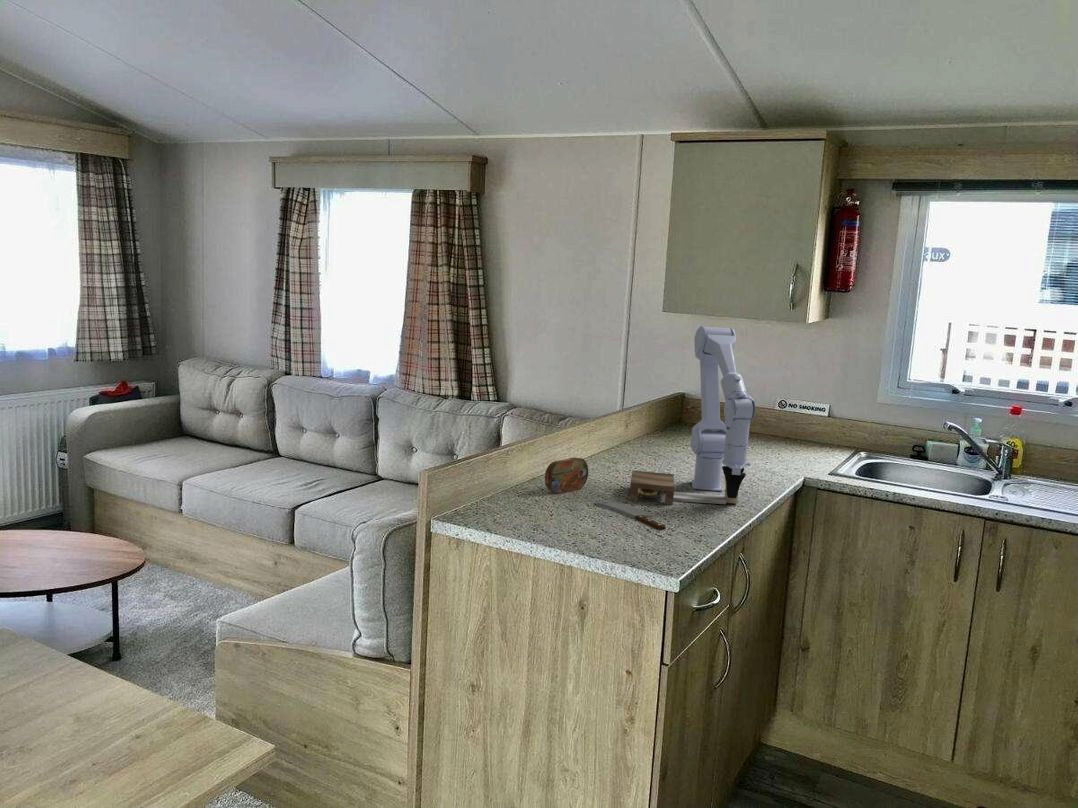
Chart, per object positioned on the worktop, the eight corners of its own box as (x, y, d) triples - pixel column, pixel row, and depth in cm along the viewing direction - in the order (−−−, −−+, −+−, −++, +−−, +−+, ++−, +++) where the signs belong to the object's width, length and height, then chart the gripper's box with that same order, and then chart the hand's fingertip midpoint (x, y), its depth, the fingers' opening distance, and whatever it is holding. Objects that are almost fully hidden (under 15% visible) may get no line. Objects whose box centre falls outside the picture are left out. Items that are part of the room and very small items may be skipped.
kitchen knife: (686, 524, 208) (653, 527, 203) (686, 529, 208) (652, 531, 203) (624, 499, 228) (592, 500, 223) (624, 503, 228) (592, 504, 223)
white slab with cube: (672, 494, 236) (673, 472, 235) (735, 498, 234) (737, 476, 233) (672, 500, 230) (673, 478, 229) (737, 505, 228) (739, 482, 227)
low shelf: (631, 487, 241) (632, 470, 241) (672, 491, 240) (673, 474, 239) (629, 500, 228) (630, 482, 227) (672, 504, 226) (674, 486, 226)
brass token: (638, 493, 237) (638, 485, 236) (657, 494, 236) (657, 487, 236) (637, 497, 232) (638, 490, 232) (656, 499, 231) (657, 492, 231)
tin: (550, 496, 228) (552, 463, 226) (541, 493, 230) (543, 461, 229) (588, 487, 239) (590, 456, 237) (579, 485, 241) (581, 454, 240)
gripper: (755, 451, 221) (749, 504, 223) (749, 440, 235) (744, 490, 238) (726, 449, 222) (721, 502, 224) (722, 438, 236) (717, 488, 238)
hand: (731, 496), depth 231 cm, fingers closed on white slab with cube, 3 cm apart
